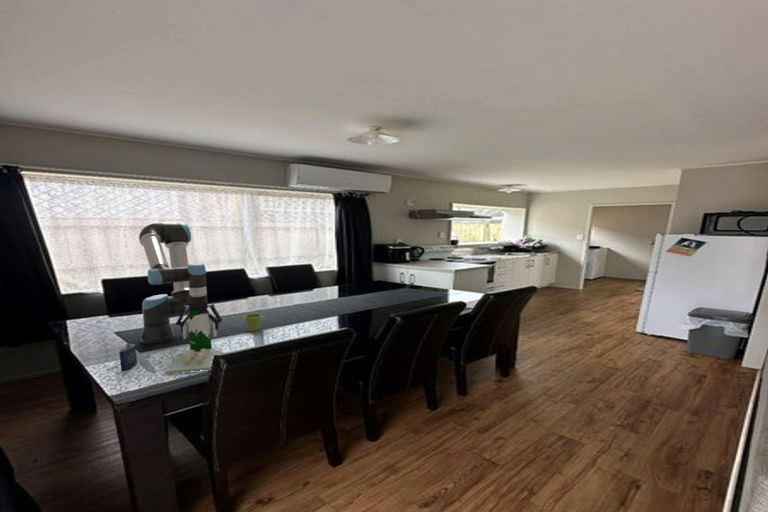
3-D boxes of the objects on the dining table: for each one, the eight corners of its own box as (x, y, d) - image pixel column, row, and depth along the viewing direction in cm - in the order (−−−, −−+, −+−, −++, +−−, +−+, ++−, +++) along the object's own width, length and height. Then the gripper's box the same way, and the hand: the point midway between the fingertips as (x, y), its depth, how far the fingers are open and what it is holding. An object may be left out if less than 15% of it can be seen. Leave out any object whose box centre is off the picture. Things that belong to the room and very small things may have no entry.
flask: (132, 363, 152) (130, 340, 151) (139, 362, 152) (137, 339, 151) (119, 372, 143) (117, 347, 142) (126, 371, 143) (125, 347, 142)
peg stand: (165, 374, 141) (165, 362, 140) (180, 358, 158) (179, 346, 157) (213, 370, 145) (212, 358, 144) (222, 354, 162) (221, 343, 162)
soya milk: (187, 349, 168) (184, 309, 166) (204, 343, 176) (202, 306, 174) (196, 353, 164) (194, 312, 162) (214, 347, 171) (212, 308, 169)
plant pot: (256, 333, 193) (255, 318, 192) (241, 332, 195) (241, 317, 194) (265, 328, 202) (264, 313, 201) (251, 327, 204) (250, 313, 203)
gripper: (166, 298, 161) (169, 341, 163) (224, 295, 167) (225, 337, 169) (172, 294, 168) (175, 336, 170) (227, 292, 174) (228, 332, 176)
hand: (200, 337), depth 169 cm, fingers open, 13 cm apart
